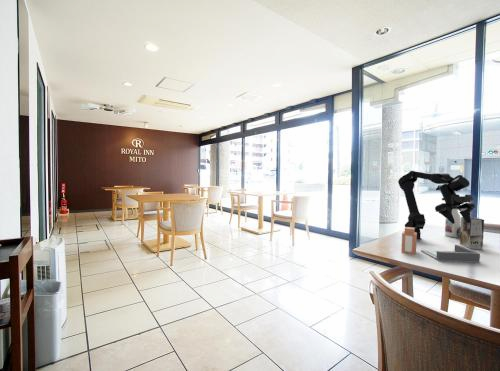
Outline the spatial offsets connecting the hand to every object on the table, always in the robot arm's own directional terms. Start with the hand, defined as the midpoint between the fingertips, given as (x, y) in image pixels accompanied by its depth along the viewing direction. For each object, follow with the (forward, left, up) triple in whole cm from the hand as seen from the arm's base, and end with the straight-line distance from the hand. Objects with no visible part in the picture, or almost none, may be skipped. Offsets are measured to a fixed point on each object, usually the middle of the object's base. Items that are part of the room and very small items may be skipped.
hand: (461, 223), depth 129 cm
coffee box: (-8, +18, -16) cm, 26 cm away
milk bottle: (-29, +31, -16) cm, 46 cm away
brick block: (-7, -24, -16) cm, 29 cm away
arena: (+3, -11, -16) cm, 19 cm away
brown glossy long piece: (-17, +29, -16) cm, 37 cm away
